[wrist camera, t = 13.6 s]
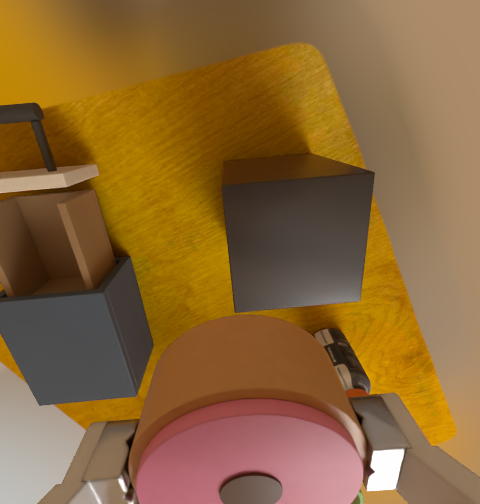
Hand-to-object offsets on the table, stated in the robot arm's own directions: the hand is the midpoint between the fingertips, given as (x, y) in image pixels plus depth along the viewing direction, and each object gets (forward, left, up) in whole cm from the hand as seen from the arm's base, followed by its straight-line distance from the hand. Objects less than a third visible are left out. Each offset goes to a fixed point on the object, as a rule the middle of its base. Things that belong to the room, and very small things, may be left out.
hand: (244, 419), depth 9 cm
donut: (0, 0, -1) cm, 1 cm away
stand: (0, +5, -27) cm, 28 cm away
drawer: (-2, -19, -26) cm, 33 cm away
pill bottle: (+23, +13, -28) cm, 38 cm away
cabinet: (+13, -19, -27) cm, 36 cm away
